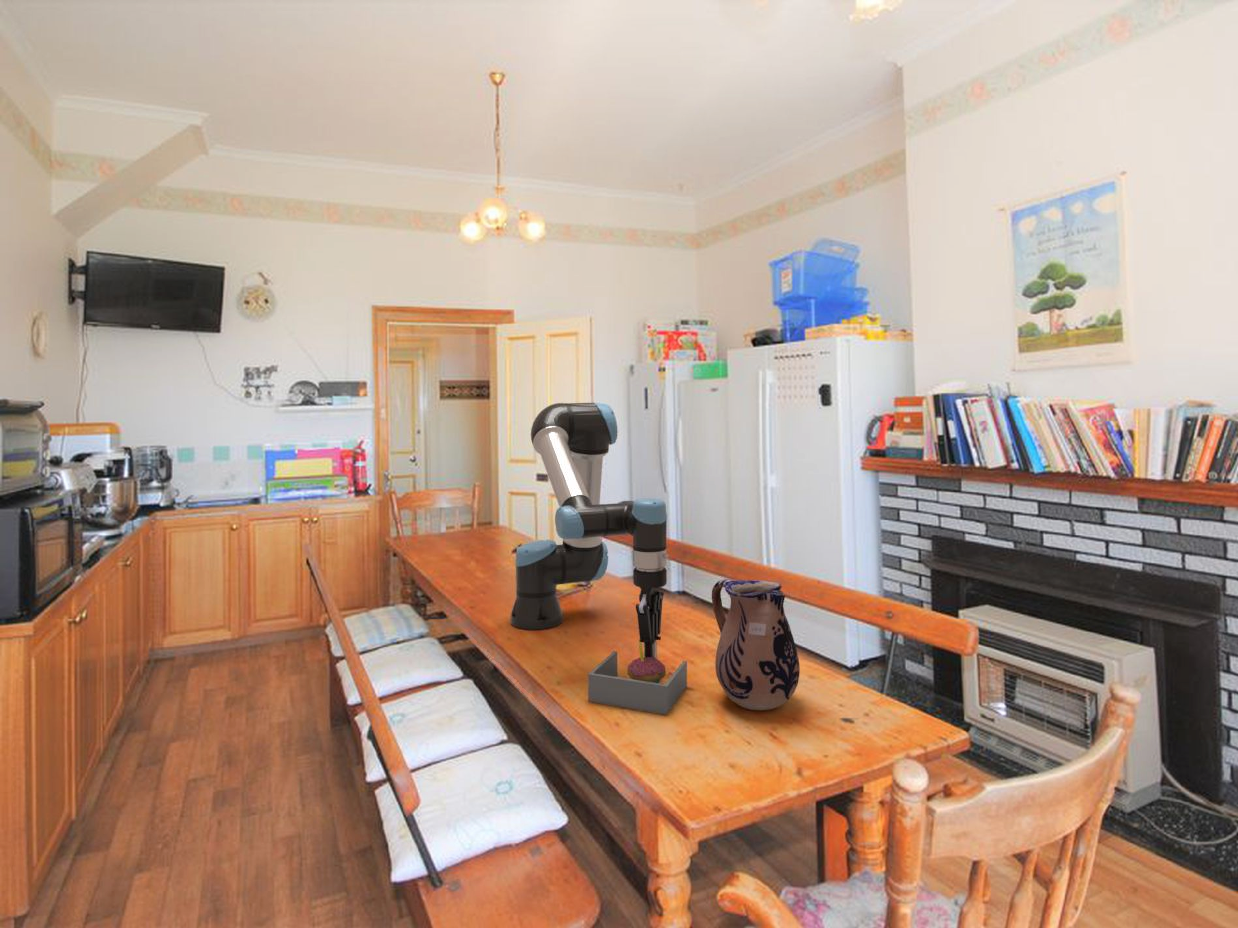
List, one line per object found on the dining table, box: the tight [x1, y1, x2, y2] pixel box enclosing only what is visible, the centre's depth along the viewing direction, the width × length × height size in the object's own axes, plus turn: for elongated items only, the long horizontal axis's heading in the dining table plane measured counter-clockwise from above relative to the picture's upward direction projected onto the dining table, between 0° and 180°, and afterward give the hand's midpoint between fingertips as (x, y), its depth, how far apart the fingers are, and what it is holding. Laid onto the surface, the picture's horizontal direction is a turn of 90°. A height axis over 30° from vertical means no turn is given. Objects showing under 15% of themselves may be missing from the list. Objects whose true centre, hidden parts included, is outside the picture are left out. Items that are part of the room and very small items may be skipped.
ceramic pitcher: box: [711, 578, 801, 711], centre depth 143 cm, size 18×21×25 cm
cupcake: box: [627, 638, 667, 684], centre depth 149 cm, size 9×8×12 cm
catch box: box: [587, 650, 688, 716], centre depth 147 cm, size 18×15×6 cm
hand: (650, 668), depth 154 cm, fingers closed
